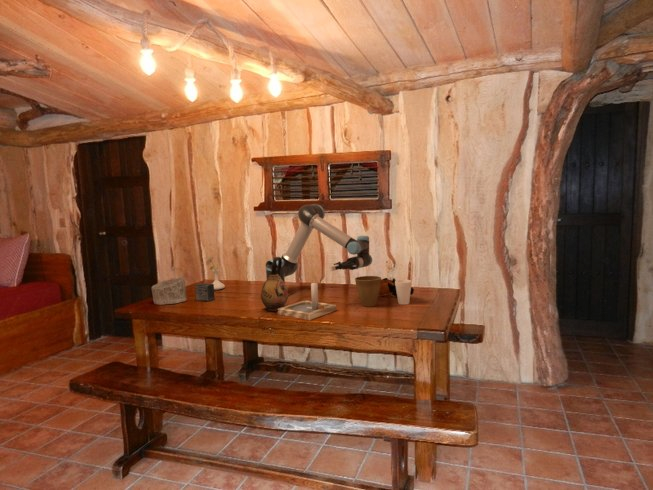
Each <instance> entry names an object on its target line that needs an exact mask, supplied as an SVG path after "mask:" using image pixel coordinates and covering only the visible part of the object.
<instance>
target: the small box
mask: <svg viewBox="0 0 653 490" xmlns="http://www.w3.org/2000/svg"><path fill="white" fill-rule="evenodd" d="M194 289H195V301H197V302H211V301H215V290H214V284H212V283H205V282H201V283H196V284H195V285H194Z"/></svg>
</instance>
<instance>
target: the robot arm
mask: <svg viewBox="0 0 653 490" xmlns="http://www.w3.org/2000/svg"><path fill="white" fill-rule="evenodd" d="M325 215H326V213H325V209H324V208H323V206H321V205H320V204H316V203H312V204H305V205H302V206H300V208H299V210H298V212H297V216H298V219H299V221H300V225H299V227H297V231H296V232H295V234H294V236H293V238H292V240H291V242H290V244H289V246H288V248H287V250H286V252H284V253H282V255H281V257H280V258H281V259H282V265H281V270H280V277H281V279H282V280H283V282H284V284H285V285H286V282H285V281H286V280H285V279H286V278H285V277H288V276H291V275H293V274H295V272H297V270H298V263H299V259H298V258H299V256H300V254H301V252H302V250H303V249H304V247H305V245H306V243H307V241H308V239H309V237H310V235H311V233H312V232H313V230H314V229H315V230H316V231H318V232H320V233H321V234H322V235H324V236H325V237H326V238H329V239H330V240H332V241H333V242H335V243H336V244H338V245H340V246H341V247H343V248H344V249H346V251H347V252H348V253H349V254H350V255H352V256H351V257H348V258H347V259H346V260H345V261H342V262H341V261H337V262H335V263H333V265H329V272H334V271H338V270H344V271H345V270H349V271H353V270H358V269H361V268H362V269H363V268H364V267H366V268H367V267H368V266H371V264H372V263H373V257H372V255H370V237H369V235H358V236H357V238H356V239H355V238H353V237H352V236H351V235H349V234H347V233H346V232H344V231H342V230H341V229H339V228H338V227H336V226H334V225H332V224H331V223H330V222H328V221H327V220H325V219H324V218H325V217H326V216H325ZM353 255H356V256H353ZM273 259H274V258H273ZM273 259H269V260H268V261H271V262H273ZM266 263H267V261H266V262H265V264H266ZM276 264H277V266H278V261H276ZM271 271H272V270H271V269H270V268H267V267H266V266H265V273H266V275H265V277H266V279H267V278H268V277H269V276H270V274H271Z"/></svg>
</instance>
